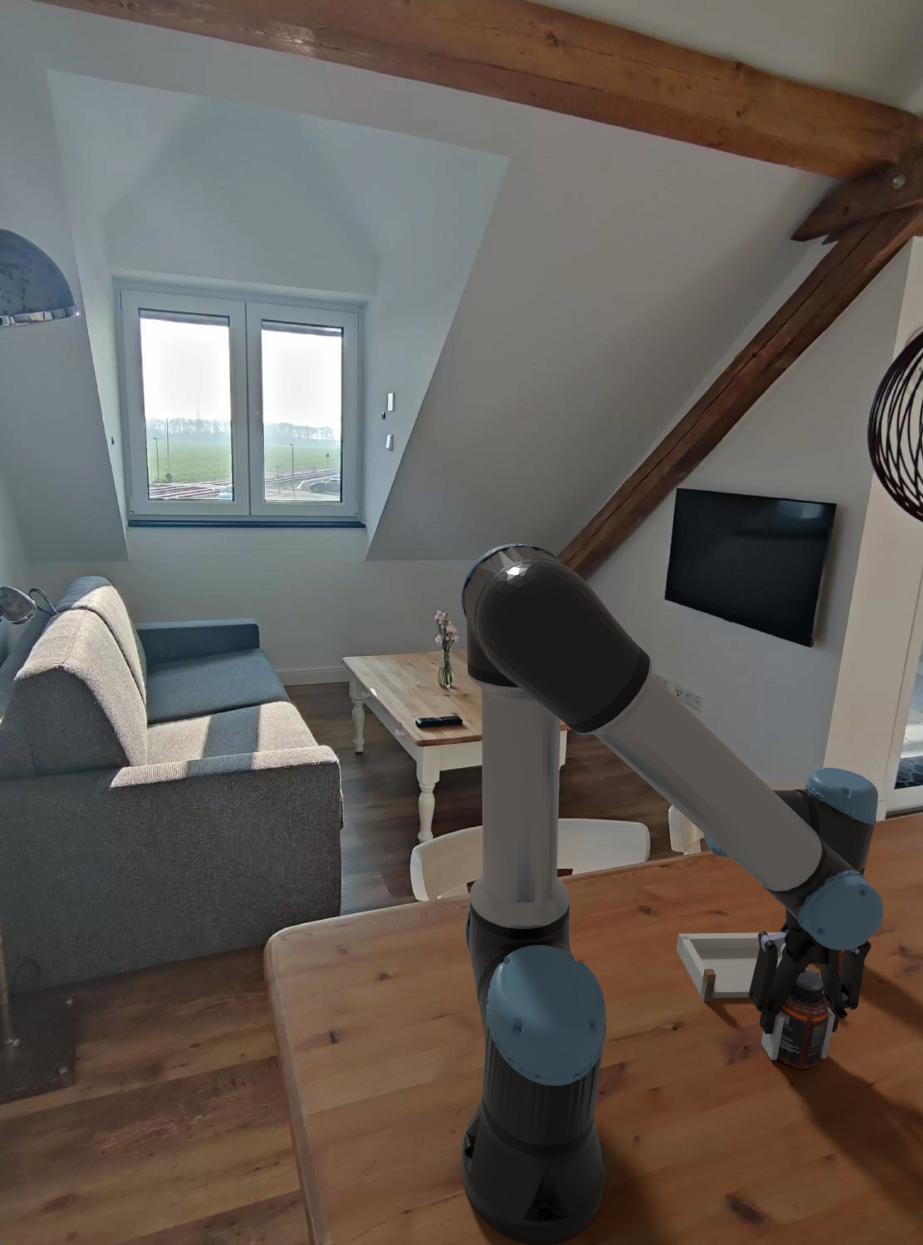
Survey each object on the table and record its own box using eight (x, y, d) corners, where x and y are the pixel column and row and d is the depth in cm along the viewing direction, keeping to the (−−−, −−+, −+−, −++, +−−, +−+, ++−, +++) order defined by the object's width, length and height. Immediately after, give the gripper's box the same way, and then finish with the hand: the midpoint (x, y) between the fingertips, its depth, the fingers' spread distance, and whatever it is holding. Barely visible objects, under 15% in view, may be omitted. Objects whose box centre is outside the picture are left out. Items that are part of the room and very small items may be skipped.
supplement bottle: (821, 1048, 96) (836, 975, 94) (814, 1080, 91) (830, 1003, 89) (772, 1028, 99) (786, 956, 97) (764, 1057, 94) (777, 982, 92)
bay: (814, 999, 105) (819, 973, 104) (703, 1001, 103) (707, 975, 102) (778, 949, 115) (782, 924, 114) (676, 950, 114) (679, 925, 113)
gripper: (877, 875, 94) (845, 1026, 100) (734, 876, 92) (711, 1029, 98) (917, 912, 87) (880, 1072, 92) (763, 913, 85) (735, 1077, 91)
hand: (793, 1050), depth 95 cm, fingers closed on supplement bottle, 6 cm apart
